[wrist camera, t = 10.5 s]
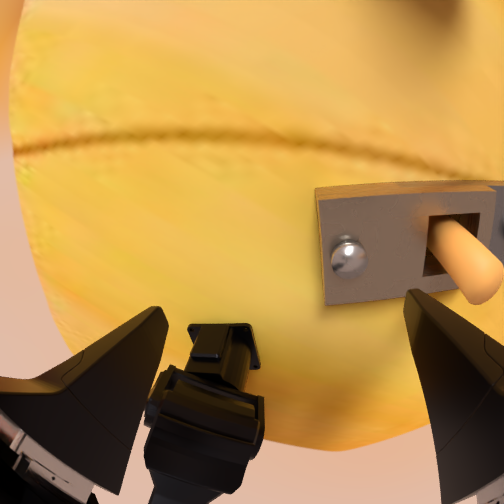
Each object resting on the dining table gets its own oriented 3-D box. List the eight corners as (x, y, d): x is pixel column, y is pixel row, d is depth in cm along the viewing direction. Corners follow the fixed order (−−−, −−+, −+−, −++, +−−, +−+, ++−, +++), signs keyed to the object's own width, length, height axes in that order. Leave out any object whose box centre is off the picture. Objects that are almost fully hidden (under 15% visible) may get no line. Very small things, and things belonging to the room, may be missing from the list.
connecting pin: (449, 245, 19) (496, 300, 12) (418, 248, 20) (460, 308, 13) (452, 209, 18) (508, 256, 11) (421, 211, 18) (472, 262, 11)
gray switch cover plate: (465, 266, 20) (485, 290, 16) (322, 283, 22) (325, 314, 19) (476, 180, 16) (504, 195, 13) (314, 188, 19) (319, 205, 16)
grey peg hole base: (506, 259, 18) (519, 272, 16) (391, 276, 21) (399, 293, 19) (518, 181, 15) (535, 190, 13) (394, 182, 18) (406, 191, 16)
